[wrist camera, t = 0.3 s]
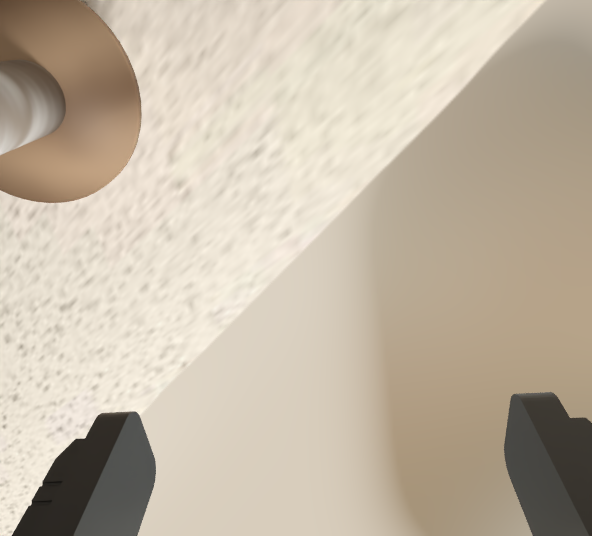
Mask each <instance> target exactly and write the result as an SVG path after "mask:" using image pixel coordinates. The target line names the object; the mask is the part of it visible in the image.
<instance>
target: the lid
mask: <svg viewBox="0 0 592 536" xmlns="http://www.w3.org/2000/svg"><path fill="white" fill-rule="evenodd" d="M140 127H141V99H140V93H139V87H138V83H137V80H136V76H135V73H134V70H133V68H132V65H131V63H130V61H129V58H128V56H127V54H126V53H125V51H124V49H123V47H122V45H121V44H120V42H119V41H118V39H117V38H116V36H115V35H114V33H113V32H112V31H111V29H110V28H109V27H108V26H107V25H106V24H105V22H104V21H103V20H102V19H101V18H100V17H99V16H98V15H97V14H96V13H95V12H94V11H93V10H92V9H90V8H89V7H88V6H87V5H86V4H85V3H83V2H82V1H80V0H0V190H1V191H4V192H6V193H8V194H10V195H13V196H16V197H19V198H22V199H26V200H31V201H36V202H46V203H60V202H68V201H74V200H77V199H81V198H84V197H87V196H89V195H91V194H93V193H95V192H97V191H98V190H100V189H101V188H103V187H104V186H106V185H107V184H108V183H110V182H111V181H112V180H113V179H114V178H115V177H116V176H117V175H118V174H119V173H120V172H121V171H122V170H123V168H124V167H125V166H126V165H127V163H128V161H129V159H130V158H131V156H132V154H133V152H134V149H135V147H136V144H137V141H138V137H139V133H140Z"/></svg>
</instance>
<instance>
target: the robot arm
mask: <svg viewBox="0 0 592 536" xmlns="http://www.w3.org/2000/svg"><path fill="white" fill-rule="evenodd" d="M504 453H505V461H506V466H507V470H508V474H509V476H510V479H511V482H512V484H513V487H514V489H515V492H516V494H517V497H518V499H519V502H520V504H521V507H522V509H523V512H524V514H525V517H526V519H527V522H528V524H529V527H530V530H531V532H532V534H533V536H592V423H591V422H590V421H589V420H588V419H586V418H570V417H569V416H568V414H567V412H566V411H565V409H564V407H563V406H562V404H561V402H560V400H559V399H558V397H557V396H556V395H555V394H554V393H552V392H546V393H526V394H514V395H512V397H511V401H510V408H509V416H508V422H507V429H506V437H505V444H504ZM155 474H156V465H155V458H154V455H153V452H152V450H151V447H150V444H149V441H148V438H147V436H146V433H145V430H144V427H143V424H142V421H141V419H140V416H139V414H138V413H137V412H116V413H102V414H100V415H98V417H97V418H96V419H95V421H94V423H93V425H92V427H91V429H90V431H89V432H88V434H87V436H86V438H85V439H75V440H74V441H73V442H72V443H71V444H70V445H69V446H68V447H67V448H66V449H65V450H64V451H63V452H62V453H61V454H60V455H59V456H58V457H57V458H56V459H55V461H54V463H53V464H52V466H51V468H50V470H49V471H48V473H47V475H46V477H45V478H44V480H43V485H42V486H41V487H39V489H38V491H37V492H36V494H35V496H34V498H33V499H32V505H31V506H29V507H28V508H27V510H26V512H25V514H24V515H23V517H22V519H21V521H20V522H19V524H18V526H17V528H16V529H15V531H14V533H13V535H12V536H137V535H138V532H139V529H140V526H141V523H142V520H143V517H144V514H145V511H146V508H147V505H148V502H149V499H150V496H151V493H152V490H153V487H154V483H155Z"/></svg>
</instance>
